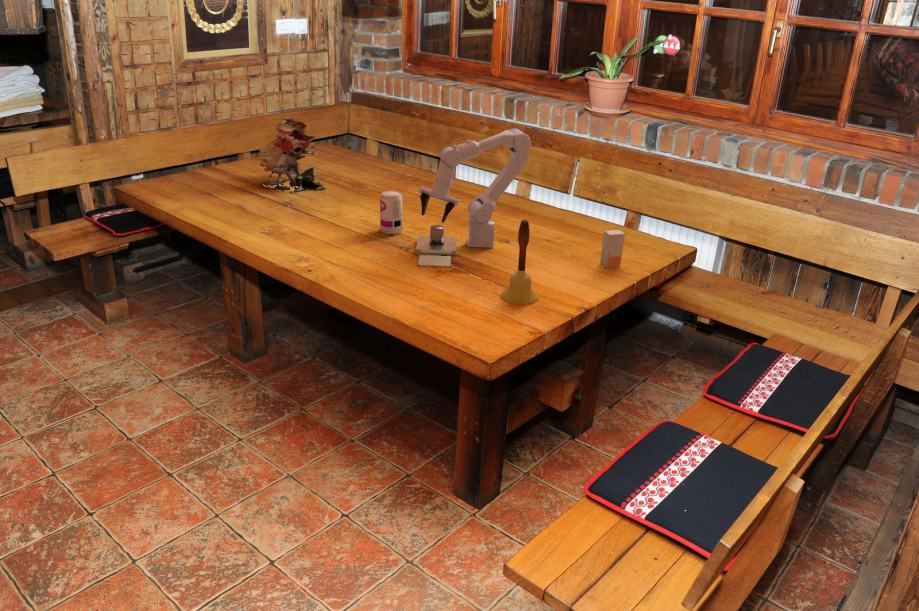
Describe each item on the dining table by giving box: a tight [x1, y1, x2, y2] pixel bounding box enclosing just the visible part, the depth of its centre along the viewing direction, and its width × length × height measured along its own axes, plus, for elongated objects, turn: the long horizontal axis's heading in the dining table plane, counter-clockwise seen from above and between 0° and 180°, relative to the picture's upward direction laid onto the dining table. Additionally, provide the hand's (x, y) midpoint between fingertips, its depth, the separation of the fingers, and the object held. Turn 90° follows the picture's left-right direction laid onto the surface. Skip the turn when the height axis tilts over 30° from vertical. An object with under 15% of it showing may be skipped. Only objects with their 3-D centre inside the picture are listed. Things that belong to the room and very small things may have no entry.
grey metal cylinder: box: [429, 224, 445, 246], centre depth 276 cm, size 5×5×8 cm
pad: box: [417, 255, 452, 268], centre depth 266 cm, size 11×9×1 cm
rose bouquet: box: [258, 117, 331, 193], centre depth 337 cm, size 26×29×30 cm
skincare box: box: [599, 229, 626, 268], centre depth 266 cm, size 6×4×12 cm
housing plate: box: [415, 235, 458, 257], centre depth 277 cm, size 14×14×2 cm
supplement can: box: [379, 190, 403, 235], centre depth 289 cm, size 8×8×15 cm
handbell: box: [499, 219, 540, 306], centre depth 236 cm, size 12×12×25 cm
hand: (432, 218), depth 274 cm, fingers open, 7 cm apart
